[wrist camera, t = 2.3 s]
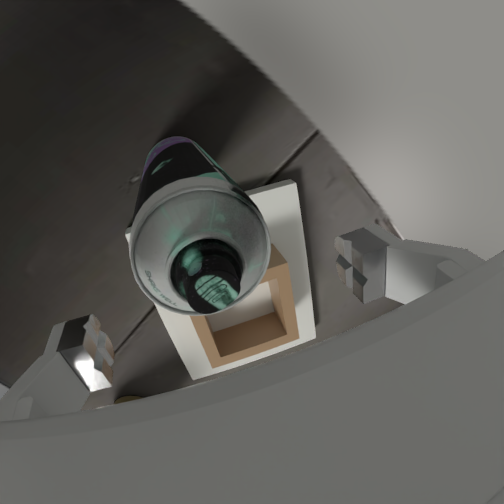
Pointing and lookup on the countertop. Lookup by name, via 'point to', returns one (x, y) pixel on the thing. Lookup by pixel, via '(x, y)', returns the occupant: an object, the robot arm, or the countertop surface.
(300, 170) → the countertop surface
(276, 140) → the countertop surface
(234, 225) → the spray can
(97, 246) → the countertop surface
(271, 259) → the socket board
